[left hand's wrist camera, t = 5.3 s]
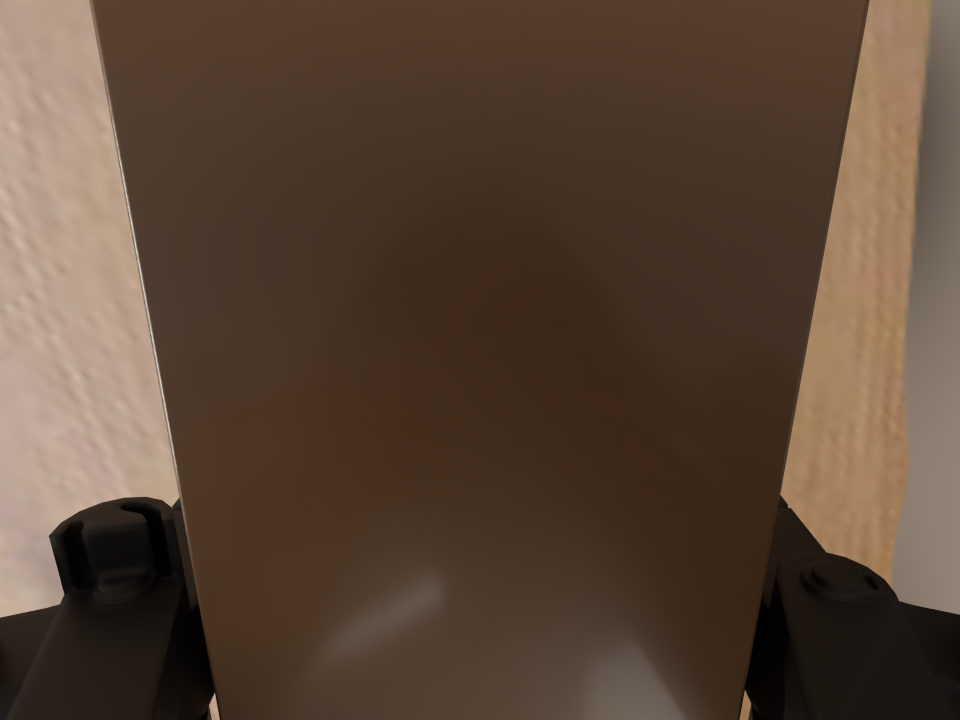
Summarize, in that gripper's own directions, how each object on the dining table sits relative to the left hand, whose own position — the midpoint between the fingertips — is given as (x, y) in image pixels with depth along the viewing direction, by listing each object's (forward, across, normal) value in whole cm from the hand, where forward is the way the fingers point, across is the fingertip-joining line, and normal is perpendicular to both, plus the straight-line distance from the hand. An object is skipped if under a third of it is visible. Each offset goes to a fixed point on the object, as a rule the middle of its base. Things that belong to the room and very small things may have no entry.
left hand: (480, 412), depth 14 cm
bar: (0, 0, -9) cm, 9 cm away
